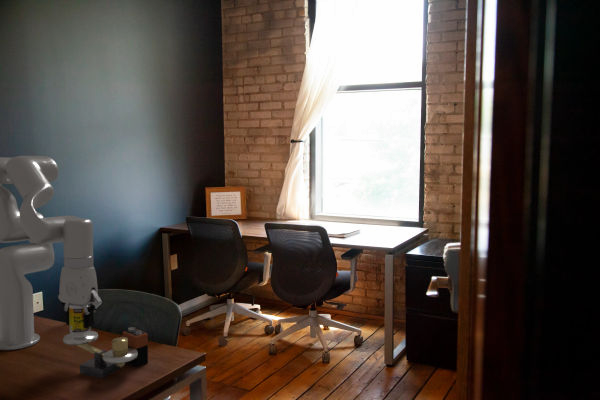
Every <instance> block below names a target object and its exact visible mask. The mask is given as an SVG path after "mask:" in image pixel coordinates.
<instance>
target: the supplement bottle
mask: <svg viewBox="0 0 600 400" xmlns="http://www.w3.org/2000/svg"><path fill="white" fill-rule="evenodd" d="M88 308H90V305H89V304H88ZM84 314H85V311H84V308H83V305H76V304H70V305H69V325H68V326H69V328H68V329H69V334H71V333H72V334H84V333H87V332H89V331H92V326H91V327H89V328H84V324H83V315H84Z"/></svg>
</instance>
